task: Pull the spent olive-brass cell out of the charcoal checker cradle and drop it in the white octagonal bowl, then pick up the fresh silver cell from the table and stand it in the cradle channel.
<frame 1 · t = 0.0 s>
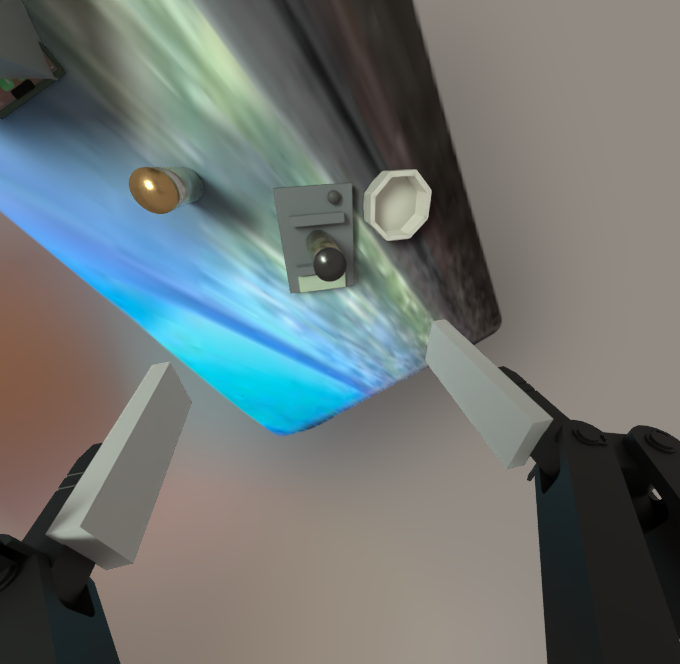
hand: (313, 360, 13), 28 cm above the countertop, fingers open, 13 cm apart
white octagonal bowl: (390, 204, 37), on the countertop
cradle: (317, 240, 37), on the countertop
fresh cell: (186, 184, 31), on the countertop
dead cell: (318, 243, 36), point 1 cm above the countertop, touching cradle
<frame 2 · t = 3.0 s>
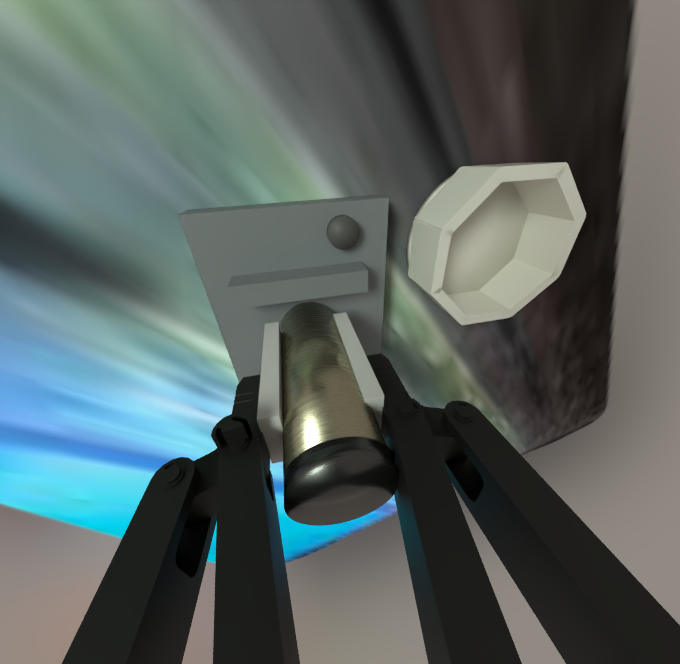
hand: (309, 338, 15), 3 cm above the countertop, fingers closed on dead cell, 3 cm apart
white octagonal bowl: (466, 239, 17), on the countertop
cradle: (304, 317, 17), on the countertop
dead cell: (310, 327, 16), point 2 cm above the countertop, touching gripper
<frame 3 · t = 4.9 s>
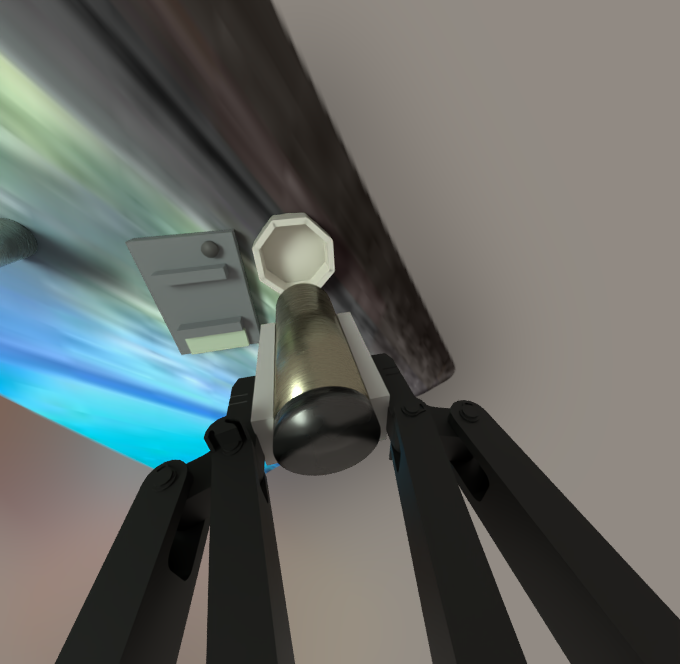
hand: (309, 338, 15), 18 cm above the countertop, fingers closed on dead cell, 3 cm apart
white octagonal bowl: (293, 251, 30), on the countertop
cradle: (206, 294, 31), on the countertop
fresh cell: (11, 238, 24), on the countertop
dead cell: (304, 309, 17), point 16 cm above the countertop, touching gripper
when the fingers open (5 cm above the countertop, at t = 7.1 s): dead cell drops 1 cm, resting on white octagonal bowl.
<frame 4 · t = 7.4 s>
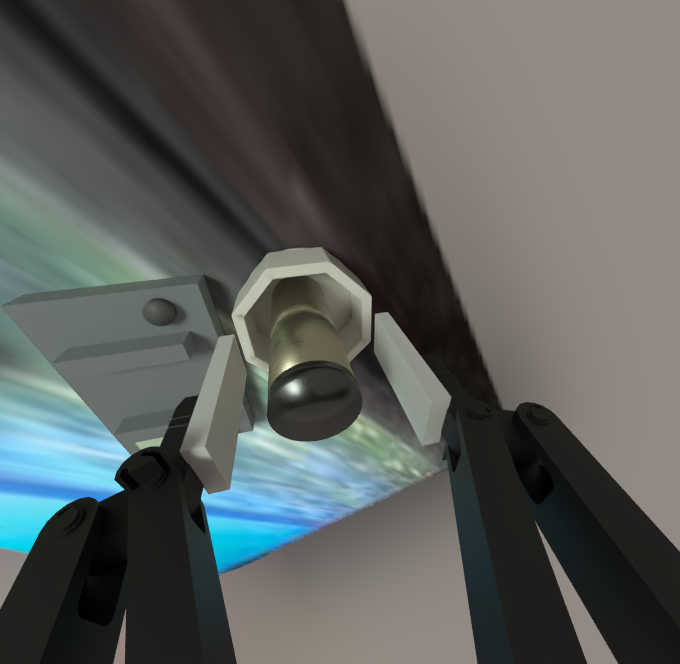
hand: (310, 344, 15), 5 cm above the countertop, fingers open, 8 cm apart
white octagonal bowl: (302, 303, 19), on the countertop
cradle: (165, 370, 20), on the countertop
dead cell: (298, 299, 18), point 1 cm above the countertop, touching white octagonal bowl
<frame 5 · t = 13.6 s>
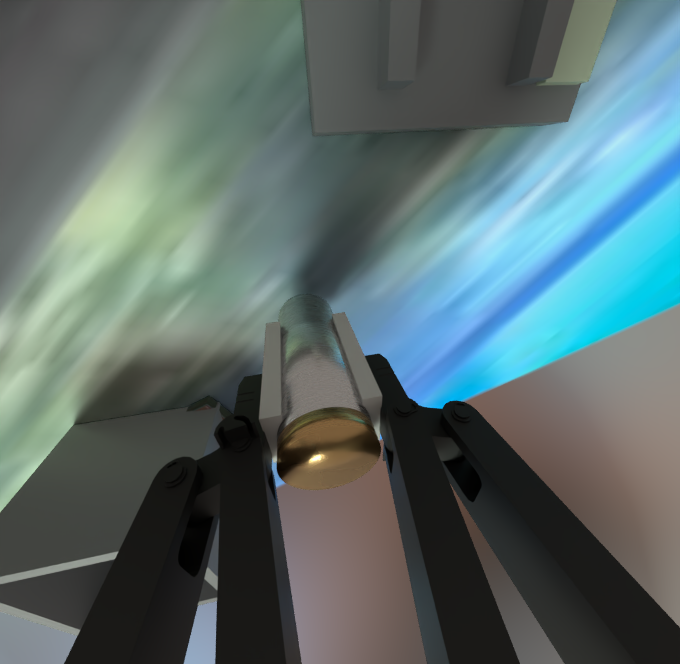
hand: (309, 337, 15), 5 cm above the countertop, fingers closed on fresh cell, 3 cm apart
phone caddy: (175, 452, 25), on the countertop
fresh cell: (306, 318, 17), point 2 cm above the countertop, touching gripper
smartphone: (178, 446, 26), resting in phone caddy
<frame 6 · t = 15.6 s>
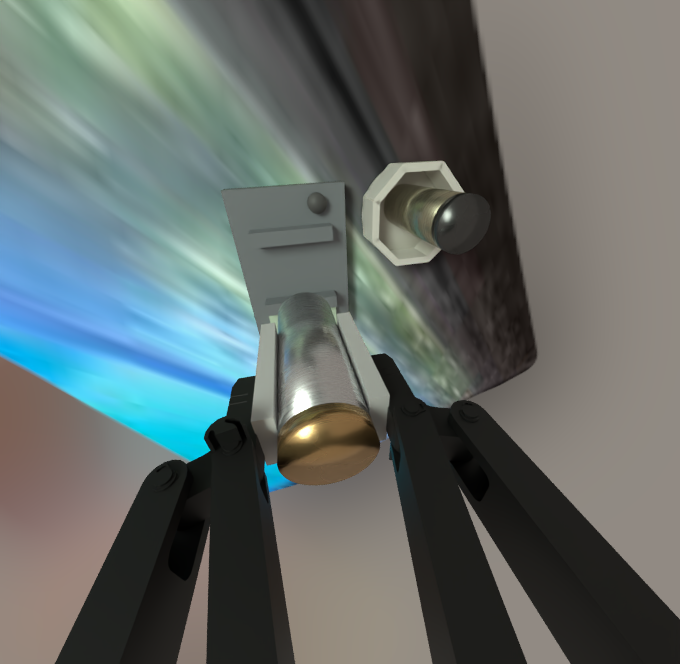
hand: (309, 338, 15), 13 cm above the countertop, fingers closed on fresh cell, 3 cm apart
white octagonal bowl: (401, 211, 25), on the countertop
cradle: (295, 264, 26), on the countertop
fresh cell: (305, 317, 17), point 11 cm above the countertop, touching gripper
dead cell: (401, 205, 25), point 1 cm above the countertop, touching white octagonal bowl
when the fingers open (2 cm above the countertop, at t = 17.7 s): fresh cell stays where it is, resting on cradle.
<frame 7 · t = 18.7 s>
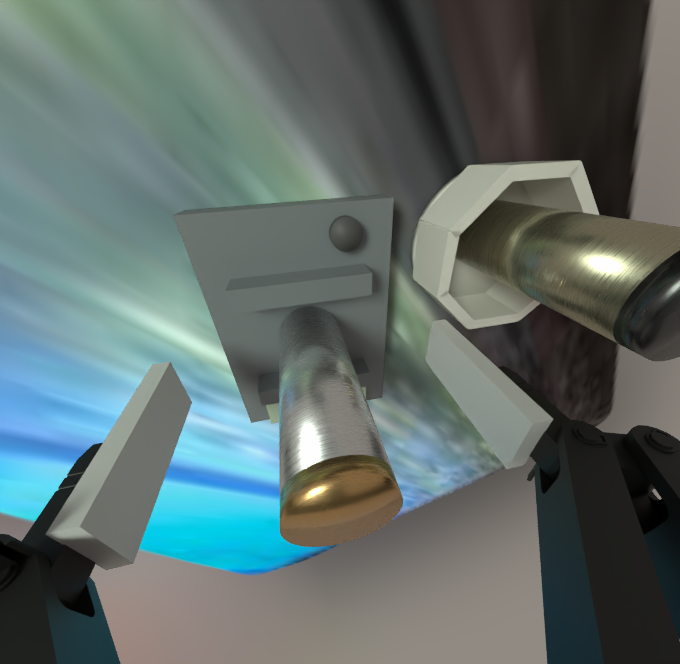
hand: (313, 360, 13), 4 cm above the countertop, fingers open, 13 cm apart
white octagonal bowl: (472, 241, 16), on the countertop
cradle: (305, 320, 17), on the countertop
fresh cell: (309, 332, 16), point 1 cm above the countertop, touching cradle
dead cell: (476, 232, 15), point 1 cm above the countertop, touching white octagonal bowl
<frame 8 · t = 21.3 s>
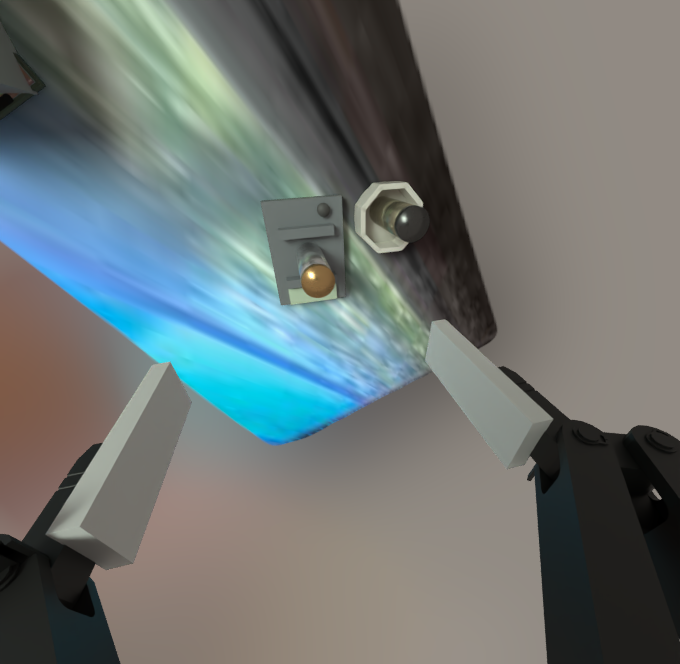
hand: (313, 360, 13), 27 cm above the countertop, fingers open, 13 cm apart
white octagonal bowl: (382, 215, 36), on the countertop
cradle: (307, 252, 37), on the countertop
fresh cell: (309, 255, 36), point 1 cm above the countertop, touching cradle
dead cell: (381, 210, 35), point 1 cm above the countertop, touching white octagonal bowl
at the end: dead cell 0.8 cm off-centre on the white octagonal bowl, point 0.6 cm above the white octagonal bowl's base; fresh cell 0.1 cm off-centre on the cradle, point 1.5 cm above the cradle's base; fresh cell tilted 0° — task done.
